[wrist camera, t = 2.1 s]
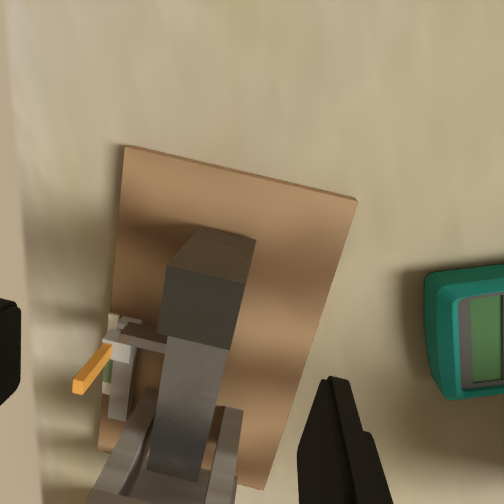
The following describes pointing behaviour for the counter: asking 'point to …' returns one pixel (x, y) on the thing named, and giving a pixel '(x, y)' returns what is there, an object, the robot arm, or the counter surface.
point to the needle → (102, 360)
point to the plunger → (193, 344)
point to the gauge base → (247, 328)
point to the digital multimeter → (466, 330)
